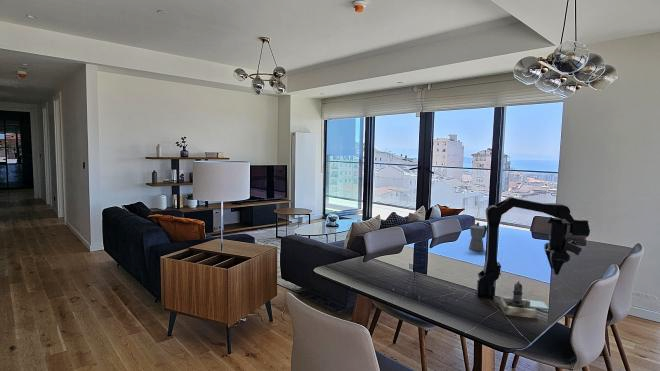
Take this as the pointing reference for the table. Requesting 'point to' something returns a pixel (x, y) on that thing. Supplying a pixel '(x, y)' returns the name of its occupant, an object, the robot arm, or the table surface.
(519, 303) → the dark grey chess piece
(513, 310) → the beige bracket
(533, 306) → the pad
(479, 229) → the coffeepot
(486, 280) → the robot arm
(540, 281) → the table surface
